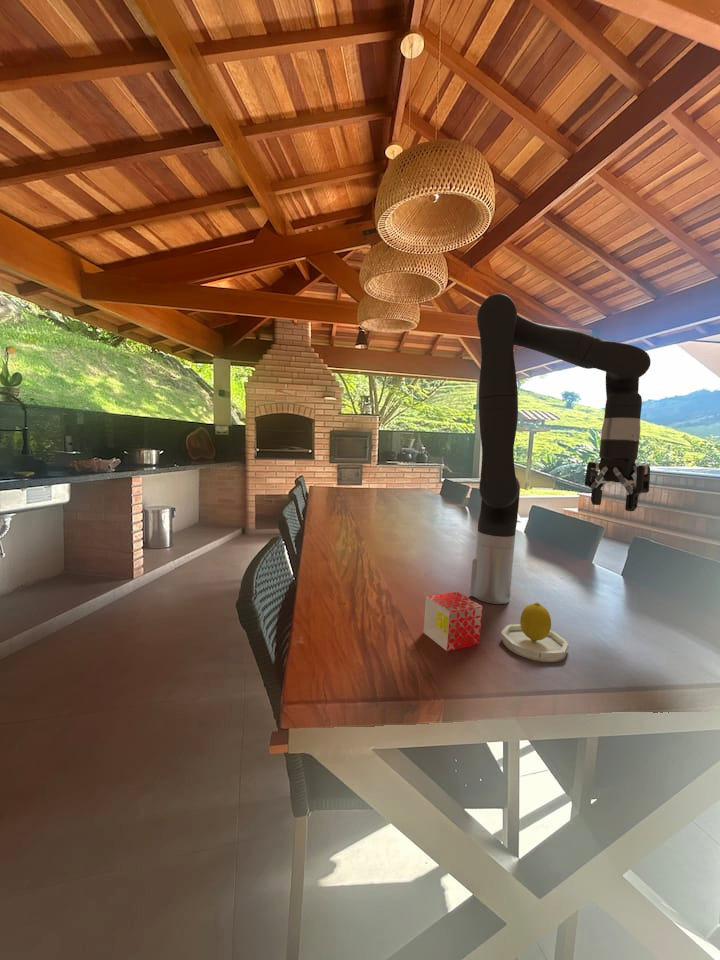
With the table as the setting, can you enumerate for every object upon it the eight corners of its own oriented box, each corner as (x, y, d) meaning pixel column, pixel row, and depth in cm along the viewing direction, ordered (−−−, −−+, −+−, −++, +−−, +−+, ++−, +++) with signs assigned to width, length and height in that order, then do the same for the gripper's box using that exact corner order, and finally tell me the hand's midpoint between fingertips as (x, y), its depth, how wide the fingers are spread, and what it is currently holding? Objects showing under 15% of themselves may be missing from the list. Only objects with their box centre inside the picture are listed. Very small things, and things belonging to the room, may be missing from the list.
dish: (494, 647, 78) (495, 638, 78) (511, 627, 87) (512, 619, 87) (560, 669, 71) (561, 660, 71) (570, 645, 81) (571, 636, 80)
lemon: (548, 651, 76) (552, 611, 75) (517, 643, 78) (520, 604, 77) (549, 639, 81) (553, 601, 80) (520, 632, 83) (523, 595, 82)
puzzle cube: (423, 632, 83) (426, 595, 82) (454, 627, 86) (456, 591, 85) (447, 651, 76) (450, 611, 75) (479, 644, 79) (482, 606, 78)
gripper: (581, 437, 98) (574, 503, 99) (638, 437, 85) (630, 513, 86) (603, 439, 101) (597, 503, 102) (662, 439, 87) (654, 513, 89)
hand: (612, 507), depth 94 cm, fingers open, 8 cm apart
